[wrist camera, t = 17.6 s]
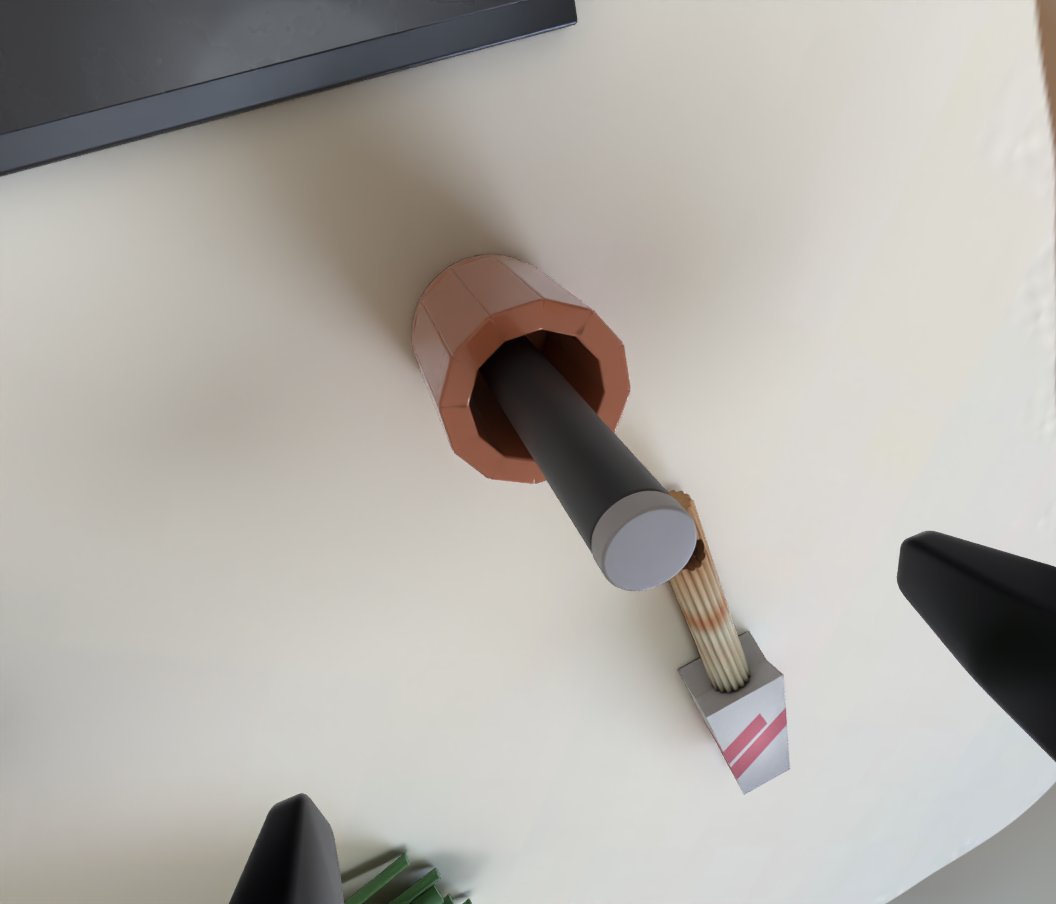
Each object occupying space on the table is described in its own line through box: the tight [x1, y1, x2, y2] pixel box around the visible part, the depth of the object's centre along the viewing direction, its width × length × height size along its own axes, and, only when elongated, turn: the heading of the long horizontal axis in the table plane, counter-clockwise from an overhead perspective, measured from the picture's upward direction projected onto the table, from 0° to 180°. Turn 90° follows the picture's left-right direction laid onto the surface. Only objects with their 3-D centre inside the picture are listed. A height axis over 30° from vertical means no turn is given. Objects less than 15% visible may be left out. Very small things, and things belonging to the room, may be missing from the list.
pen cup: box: [412, 254, 630, 484], centre depth 17 cm, size 5×5×5 cm
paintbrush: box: [669, 490, 790, 795], centre depth 28 cm, size 4×3×20 cm
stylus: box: [478, 335, 697, 591], centre depth 14 cm, size 2×2×10 cm
